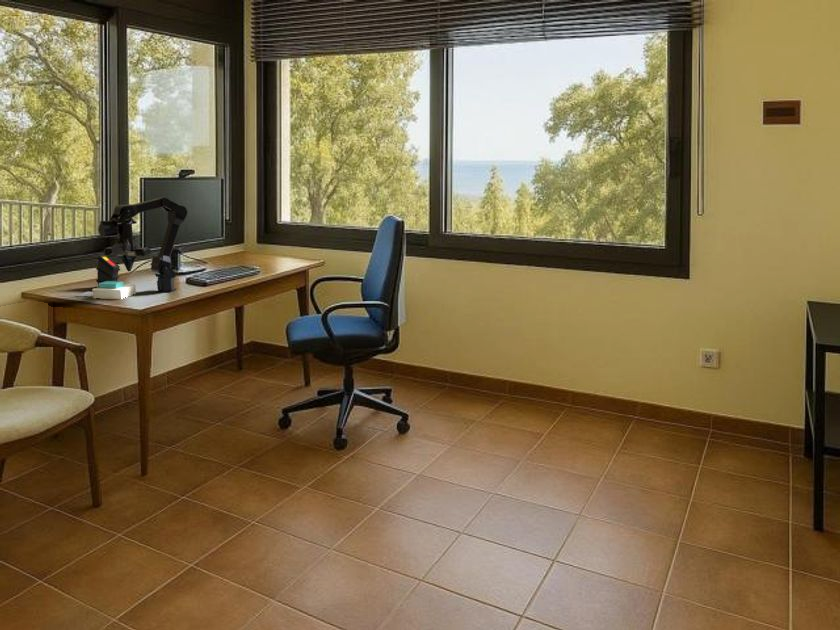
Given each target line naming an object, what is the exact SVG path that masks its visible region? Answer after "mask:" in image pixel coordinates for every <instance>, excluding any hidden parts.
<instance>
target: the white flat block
mask: <svg viewBox="0 0 840 630" xmlns="http://www.w3.org/2000/svg"><path fill="white" fill-rule="evenodd" d="M91 290H92V292H93V297H92V299H96V298H100V299H99V300H124V299H126V298H129V297H131V296H133V294H134V295H136V294H137V288H136V284H127V283H126V284H125V283H124V286H123V287H120V288H117V289H108V288H99V287H98V286H97V287H95V288H92V289H91ZM128 296H129V297H128ZM125 297H126V298H125ZM123 298H124V299H123Z"/></svg>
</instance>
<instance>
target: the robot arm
mask: <svg viewBox="0 0 840 630" xmlns="http://www.w3.org/2000/svg"><path fill="white" fill-rule="evenodd" d="M159 208H162V209H163V211H166V212H167V223H168V224H167V226H166V227H167V228H166V230H165V233H164V238H163V240H162V244H161V245H160V249H159V252H158V255H156V256H154V255H153V256H152V259H151V263H150V264H149V265H150V270H151V272H152V273H153V274H154V276H155V277H156V278H157V281H156V286H157V288H156V289H157V290H156V292H158V293H172V292H174V291H177V288H175V278H176V277H177V273H176V271H174V270H173V269H172V259H171V254H172V252H173V249H174V245H175V242H176V239H177V235H178V233H179V228H180V226H181V225H182V224H183V223H184V222H185V220H186V218H187V216H188V210H187V207H186V206H184V205H180V204H178V203H177V202H175V201H172V200H170V199H169V198H168V197H165V196H159V197H155V198H152V199H149V200H144V201H141V202H138V203H134V204H129V203H128V204H118V205H116V206H115V207H114V210H113V213H112V215H111V216H110V218H109V220H100V221H99V226H98V234H99V236H100V237H101V238H109V237H116V236H118V237H117V238H116V243H114V244H113V245H112V246H109V247H105V248H104V250H103V255H106V256H111V255H113V256H116V258H119V259H120V260H121V261H122V263H123V264H124V266H125V269H126V272H131V271H132V270H133V269H132V268H133V266H134V263H135V260H136V259H137V257H144V256H145V257H146V256H149V255H151V254H152V251H151V249H150V248H149V247H138V248H137V247H136V245H135V244H134V243H135V242H134V240H136V236H134V235H133V234H134V233H133V225H134V224H138V223H137V221H136V220H135V219H134V217H136V216H137V215H138V214H141V213H144V212H148V211H152V210H155V209H159Z"/></svg>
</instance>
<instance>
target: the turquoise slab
mask: <svg viewBox="0 0 840 630" xmlns="http://www.w3.org/2000/svg"><path fill="white" fill-rule="evenodd" d="M124 284H125V283H124V281H123V280H121V281H119V280H118V281H105V282H102V283H99V288H108V289H117V288H120V287H123V286H124Z"/></svg>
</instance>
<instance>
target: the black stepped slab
mask: <svg viewBox="0 0 840 630" xmlns="http://www.w3.org/2000/svg"><path fill="white" fill-rule="evenodd" d="M97 260H98V263H97V267H96V269H95V270H97V274H96V275H97V277H96V278H97V279H96V283H97V288H98V287H99V283H102V282H105V281H119V280H118V279H120V276H119V273H120V272H119V271H121V268H120V266H121V265H119V264H117V263H116V261H114V260H113V259H111V258H110V257H109V255H104V254H103V255H99V257H97Z"/></svg>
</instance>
